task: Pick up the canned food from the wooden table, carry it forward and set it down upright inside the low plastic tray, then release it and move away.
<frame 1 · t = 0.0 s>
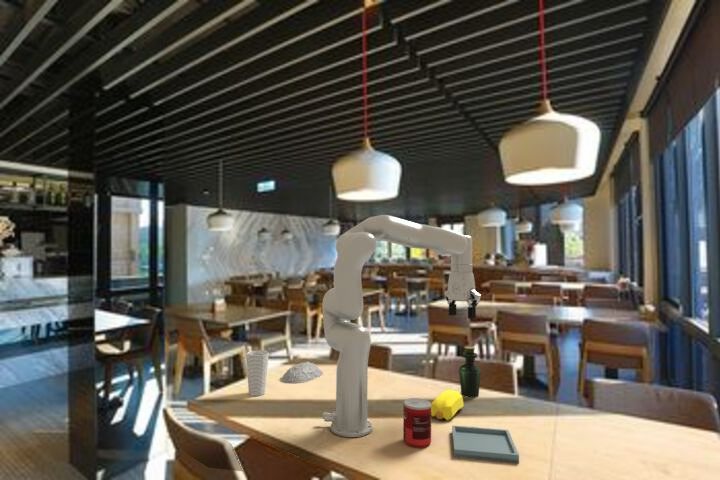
hand: (461, 316, 149), 31 cm above the table, tool pointing down, fingers open, 9 cm apart
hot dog: (447, 414, 139), on the table
tray: (482, 446, 114), on the table
potion bottle: (469, 395, 158), on the table
canned food: (417, 443, 116), on the table
grey rock: (302, 377, 182), on the table
cup: (256, 394, 157), on the table
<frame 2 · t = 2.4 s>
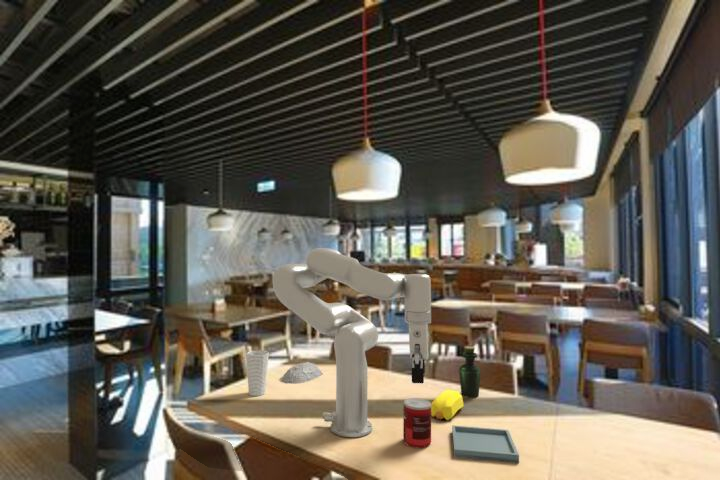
hand: (418, 377, 117), 18 cm above the table, tool pointing down, fingers open, 9 cm apart
nothing on the table moved.
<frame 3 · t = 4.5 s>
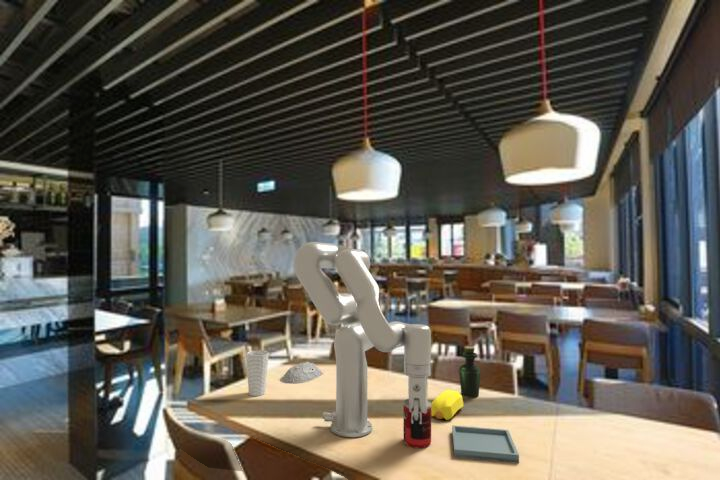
hand: (417, 431, 117), 3 cm above the table, tool pointing down, fingers closed on canned food, 8 cm apart
canned food: (417, 442, 116), on the table, touching gripper
everything else where it was.
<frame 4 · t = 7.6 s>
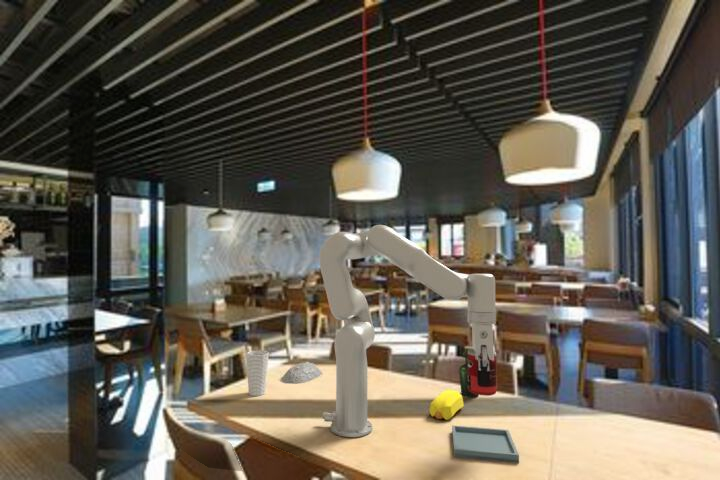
hand: (481, 380, 115), 18 cm above the table, tool pointing down, fingers closed on canned food, 8 cm apart
canned food: (482, 392, 115), point 15 cm above the table, touching gripper
everything else where it was.
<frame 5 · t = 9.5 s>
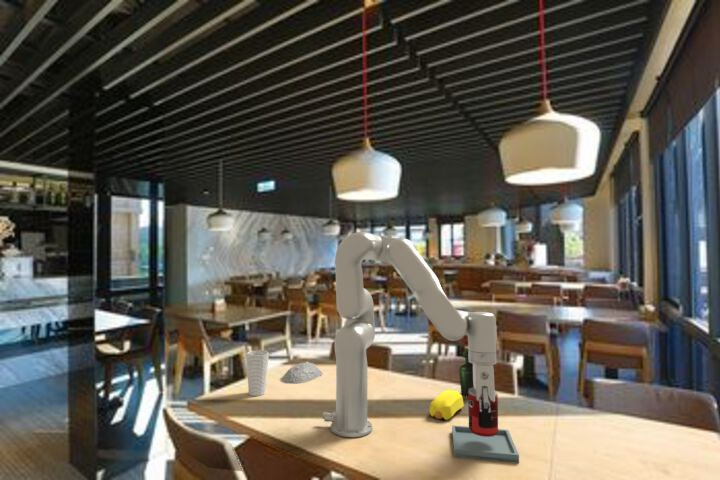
hand: (483, 420, 114), 7 cm above the table, tool pointing down, fingers closed on canned food, 8 cm apart
canned food: (483, 432, 114), point 4 cm above the table, touching gripper
everything else where it was.
when the fingers open (5 cm above the table, at t = 11.1 s): canned food drops 1 cm, resting on tray.
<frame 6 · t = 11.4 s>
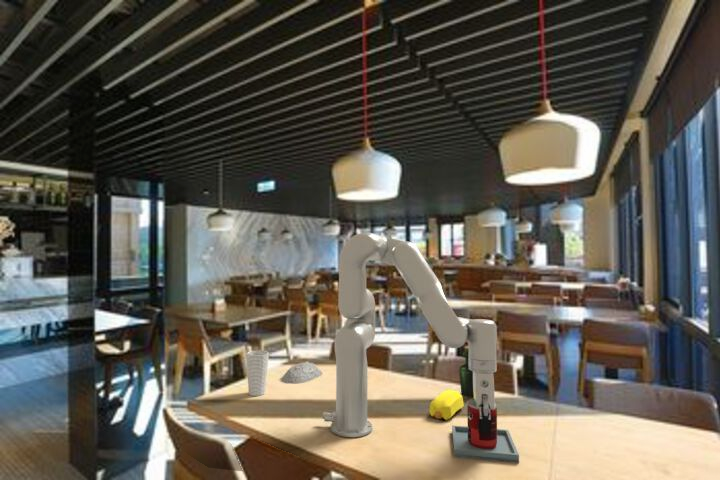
hand: (482, 426, 114), 5 cm above the table, tool pointing down, fingers open, 9 cm apart
canned food: (482, 444, 114), point 1 cm above the table, touching tray
everything else where it was.
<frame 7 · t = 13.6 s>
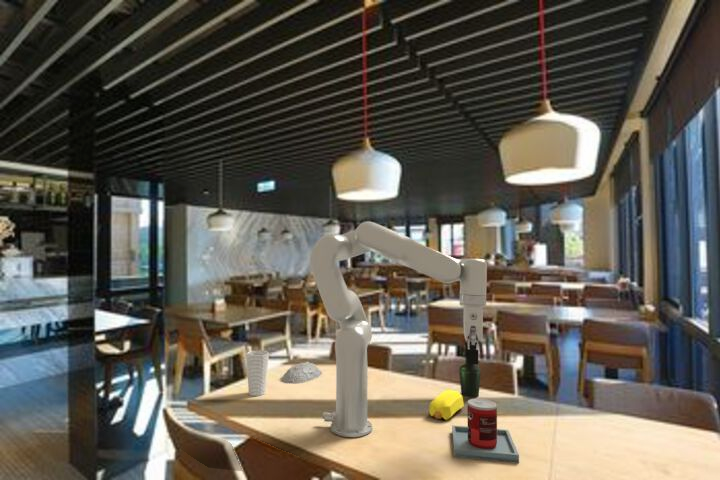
hand: (471, 359, 120), 23 cm above the table, tool pointing down, fingers open, 9 cm apart
nothing on the table moved.
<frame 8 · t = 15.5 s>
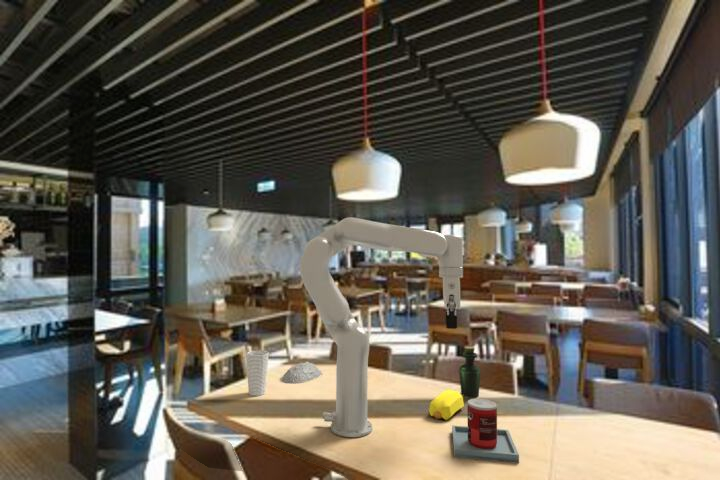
hand: (451, 326, 133), 30 cm above the table, tool pointing down, fingers open, 9 cm apart
nothing on the table moved.
at the end: canned food inside the target area on the tray (0.2 cm from its centre), point 0.6 cm above the tray's base; canned food tilted 0°; the gripper is holding nothing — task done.
